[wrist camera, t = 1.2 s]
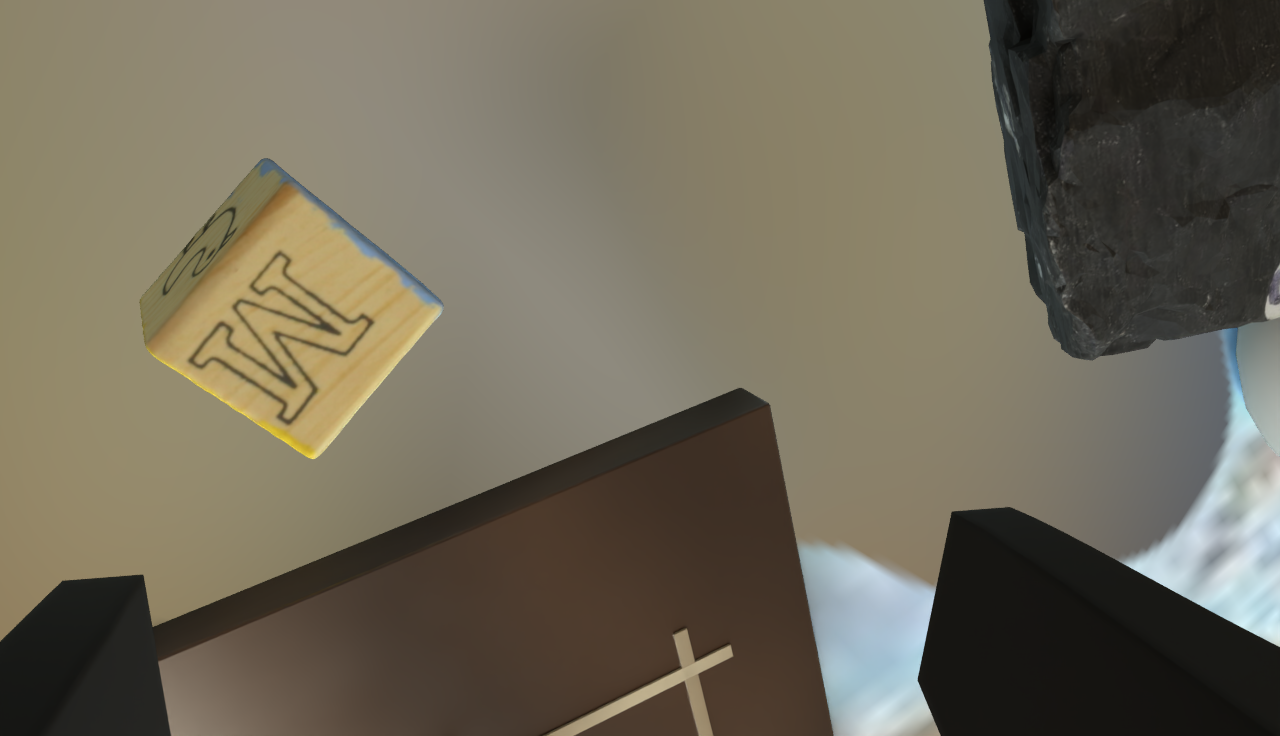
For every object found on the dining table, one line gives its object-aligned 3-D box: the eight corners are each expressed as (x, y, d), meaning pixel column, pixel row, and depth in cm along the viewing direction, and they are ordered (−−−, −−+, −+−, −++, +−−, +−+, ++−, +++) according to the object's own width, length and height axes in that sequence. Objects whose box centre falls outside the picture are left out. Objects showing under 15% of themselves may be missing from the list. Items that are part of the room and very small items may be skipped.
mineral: (1253, -127, 25) (1544, -168, 20) (1231, 256, 28) (1476, 307, 23) (881, -72, 21) (1117, -103, 16) (904, 358, 24) (1107, 445, 19)
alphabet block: (407, 270, 19) (454, 308, 16) (290, 409, 19) (318, 469, 16) (262, 152, 18) (287, 172, 15) (135, 301, 17) (137, 347, 15)
